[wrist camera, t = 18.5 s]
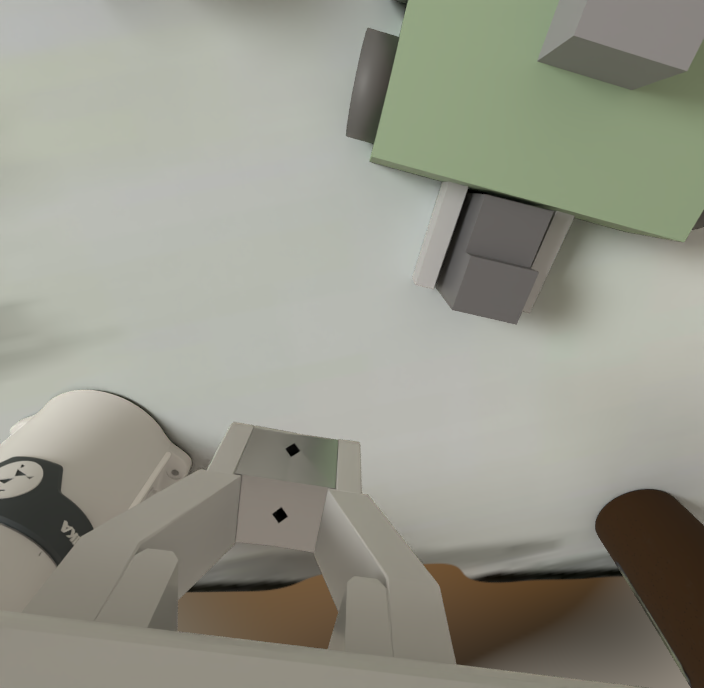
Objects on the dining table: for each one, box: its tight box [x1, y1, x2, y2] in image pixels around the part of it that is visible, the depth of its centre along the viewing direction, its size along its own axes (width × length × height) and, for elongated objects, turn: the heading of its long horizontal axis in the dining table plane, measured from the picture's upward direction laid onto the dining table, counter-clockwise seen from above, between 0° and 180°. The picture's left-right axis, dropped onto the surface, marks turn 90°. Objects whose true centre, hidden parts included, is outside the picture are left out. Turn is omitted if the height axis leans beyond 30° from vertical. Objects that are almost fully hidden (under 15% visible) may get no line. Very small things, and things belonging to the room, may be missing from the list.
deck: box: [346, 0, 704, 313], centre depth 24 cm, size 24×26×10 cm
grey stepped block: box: [436, 193, 554, 324], centre depth 29 cm, size 8×5×6 cm, turn 167°
